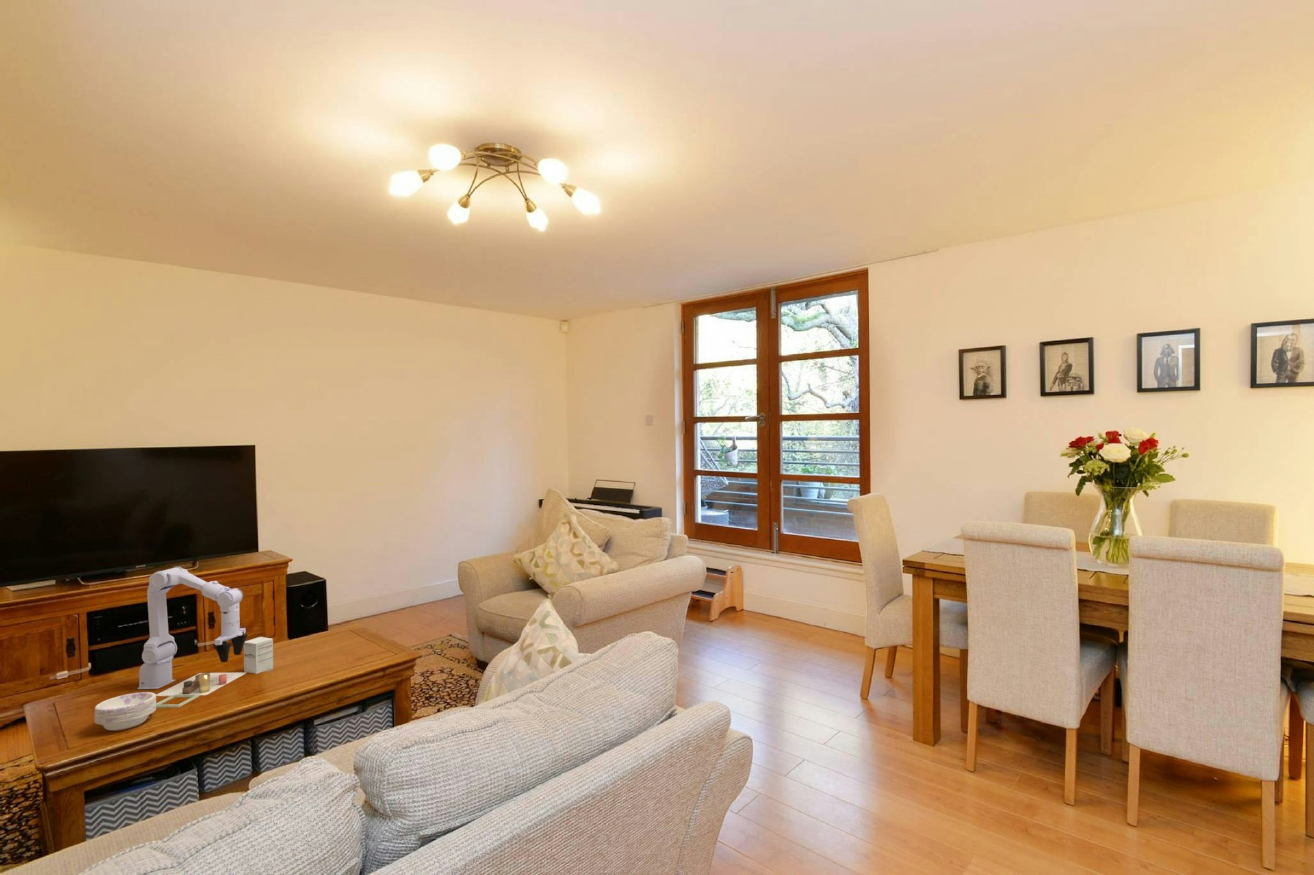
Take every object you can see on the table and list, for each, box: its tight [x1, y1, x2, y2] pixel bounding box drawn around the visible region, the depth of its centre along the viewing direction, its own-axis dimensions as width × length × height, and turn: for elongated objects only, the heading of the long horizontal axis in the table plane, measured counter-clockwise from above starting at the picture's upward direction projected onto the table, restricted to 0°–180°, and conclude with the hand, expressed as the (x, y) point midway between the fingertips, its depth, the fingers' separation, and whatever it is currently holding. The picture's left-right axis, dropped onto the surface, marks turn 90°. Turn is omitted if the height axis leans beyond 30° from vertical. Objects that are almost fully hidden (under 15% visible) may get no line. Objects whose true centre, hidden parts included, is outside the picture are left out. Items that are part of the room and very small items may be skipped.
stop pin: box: [199, 672, 210, 693], centre depth 225 cm, size 3×3×6 cm
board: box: [156, 671, 248, 697], centre depth 233 cm, size 19×22×1 cm
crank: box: [182, 672, 211, 694], centre depth 229 cm, size 13×4×4 cm, turn 9°
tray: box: [156, 694, 200, 709], centre depth 217 cm, size 9×9×2 cm
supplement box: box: [243, 636, 274, 675], centre depth 247 cm, size 7×7×13 cm
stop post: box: [219, 674, 228, 686], centre depth 232 cm, size 2×2×3 cm
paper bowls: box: [94, 691, 157, 732], centre depth 201 cm, size 15×15×8 cm
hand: (231, 658), depth 233 cm, fingers open, 7 cm apart
